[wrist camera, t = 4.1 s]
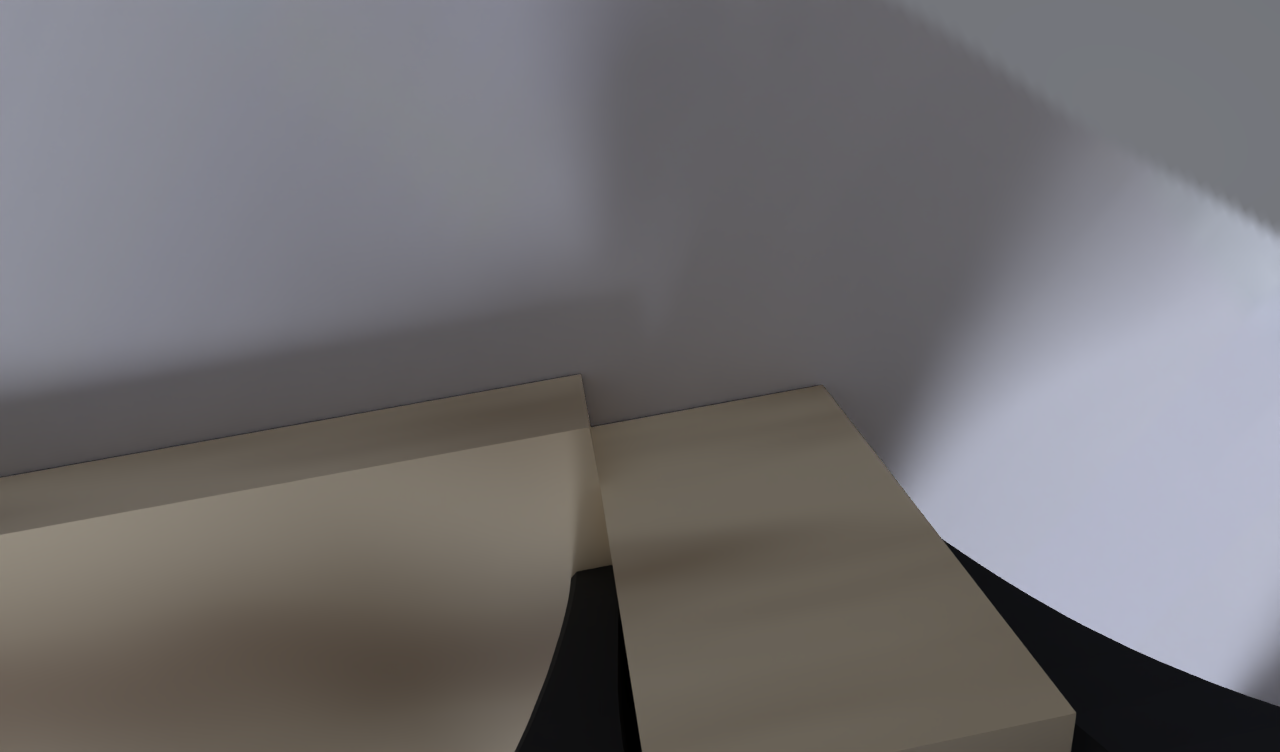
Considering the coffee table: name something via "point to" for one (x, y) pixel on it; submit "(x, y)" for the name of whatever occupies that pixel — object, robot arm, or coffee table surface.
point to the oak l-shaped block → (501, 587)
